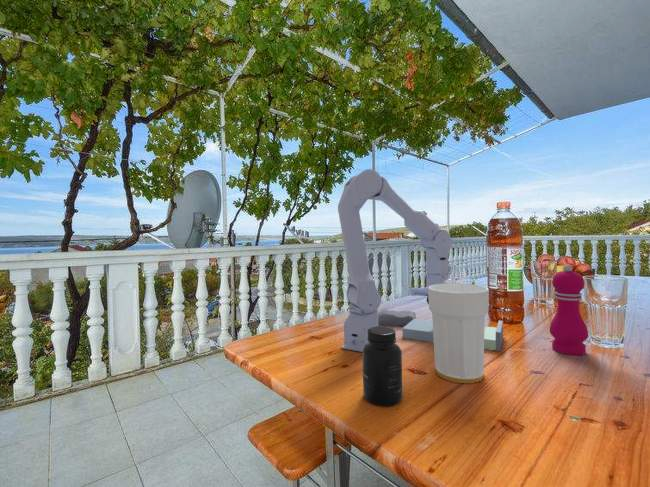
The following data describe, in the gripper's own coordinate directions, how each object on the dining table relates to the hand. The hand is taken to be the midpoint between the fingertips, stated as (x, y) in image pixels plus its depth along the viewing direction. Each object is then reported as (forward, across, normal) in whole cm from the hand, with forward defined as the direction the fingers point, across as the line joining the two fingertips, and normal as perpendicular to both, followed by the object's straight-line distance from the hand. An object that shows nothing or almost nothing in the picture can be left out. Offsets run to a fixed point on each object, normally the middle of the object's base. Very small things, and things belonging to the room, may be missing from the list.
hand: (438, 323), depth 89 cm
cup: (+4, -9, +22) cm, 24 cm away
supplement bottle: (+4, +1, +38) cm, 38 cm away
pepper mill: (+4, -29, -2) cm, 29 cm away
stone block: (+4, +15, -9) cm, 18 cm away
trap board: (+3, -3, 0) cm, 4 cm away
